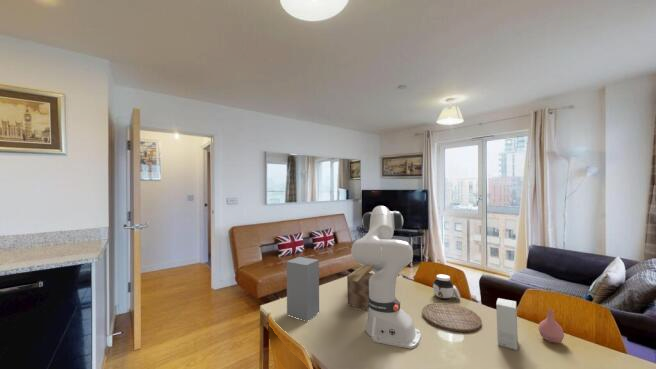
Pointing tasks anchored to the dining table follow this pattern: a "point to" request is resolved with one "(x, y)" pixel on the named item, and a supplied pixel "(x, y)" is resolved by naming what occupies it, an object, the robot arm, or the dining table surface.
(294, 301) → the tall stand
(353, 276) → the oak bar
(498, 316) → the skincare box
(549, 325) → the pink teardrop-shaped piece
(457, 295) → the spread jar
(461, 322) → the trivet
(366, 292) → the walnut block
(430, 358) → the dining table surface
